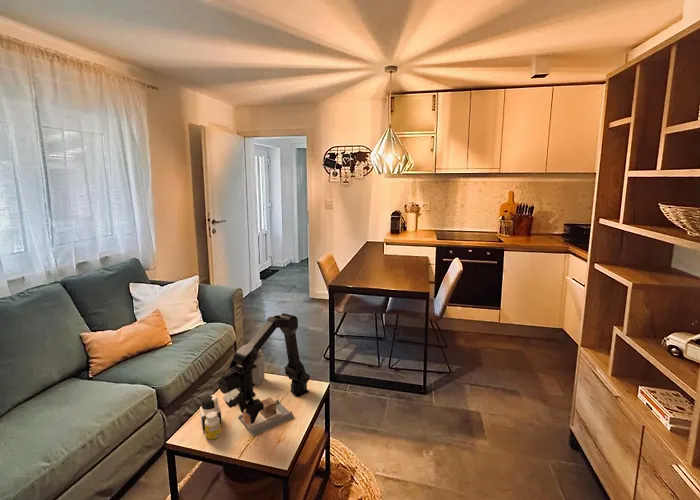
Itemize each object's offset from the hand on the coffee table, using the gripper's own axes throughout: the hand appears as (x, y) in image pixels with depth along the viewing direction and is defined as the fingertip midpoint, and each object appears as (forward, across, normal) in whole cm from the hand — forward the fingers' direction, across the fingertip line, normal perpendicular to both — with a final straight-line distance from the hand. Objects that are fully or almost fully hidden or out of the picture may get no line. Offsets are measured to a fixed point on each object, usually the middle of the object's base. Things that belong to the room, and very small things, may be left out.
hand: (247, 417), depth 149 cm
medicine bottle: (+4, -10, -11) cm, 15 cm away
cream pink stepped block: (+3, 0, +6) cm, 6 cm away
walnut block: (+2, 0, +9) cm, 9 cm away
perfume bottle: (+4, -29, +17) cm, 34 cm away
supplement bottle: (+4, -2, -13) cm, 14 cm away
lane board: (+4, 0, +8) cm, 9 cm away
